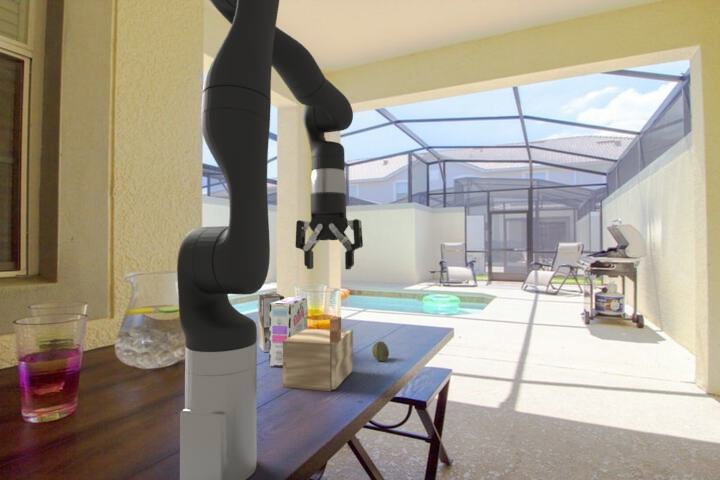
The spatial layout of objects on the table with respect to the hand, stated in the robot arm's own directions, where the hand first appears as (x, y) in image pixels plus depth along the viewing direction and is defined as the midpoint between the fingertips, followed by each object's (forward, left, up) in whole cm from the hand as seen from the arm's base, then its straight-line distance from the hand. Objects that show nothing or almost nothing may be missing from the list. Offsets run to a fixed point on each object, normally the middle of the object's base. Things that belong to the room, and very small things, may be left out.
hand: (329, 269), depth 86 cm
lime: (+27, -6, -26) cm, 38 cm away
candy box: (+21, +18, -26) cm, 38 cm away
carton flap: (+8, -1, -26) cm, 27 cm away
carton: (+8, +5, -26) cm, 27 cm away
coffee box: (+32, +29, -26) cm, 50 cm away
